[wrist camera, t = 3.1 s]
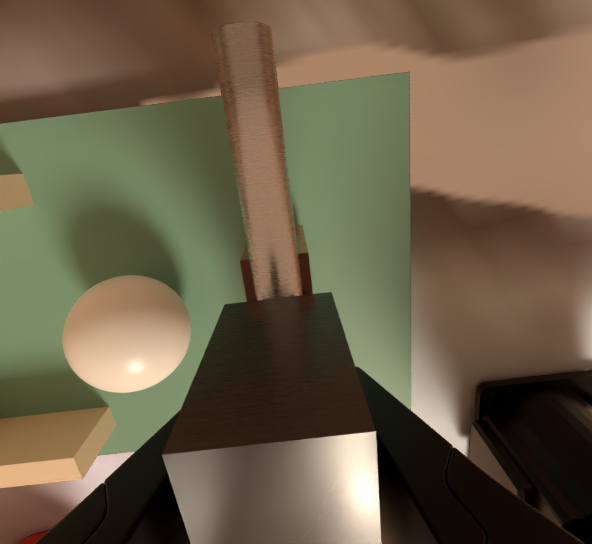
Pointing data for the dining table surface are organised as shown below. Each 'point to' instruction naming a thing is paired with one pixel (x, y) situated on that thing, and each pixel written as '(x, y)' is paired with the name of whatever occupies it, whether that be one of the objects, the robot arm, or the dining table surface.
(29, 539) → the canned food
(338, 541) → the kicker rod
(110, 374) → the ball
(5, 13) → the dining table surface
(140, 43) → the dining table surface
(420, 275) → the dining table surface
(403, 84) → the pitch
